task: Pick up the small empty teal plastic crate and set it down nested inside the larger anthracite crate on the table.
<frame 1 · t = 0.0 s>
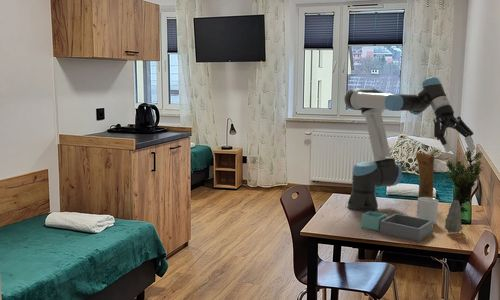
hand: (461, 150, 202), 36 cm above the table, tool tilted 35°, fingers open, 13 cm apart
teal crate: (373, 227, 211), on the table
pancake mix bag: (423, 205, 254), on the table
grey crate: (406, 233, 204), on the table
stone tool: (452, 233, 207), on the table
mug: (424, 222, 223), on the table
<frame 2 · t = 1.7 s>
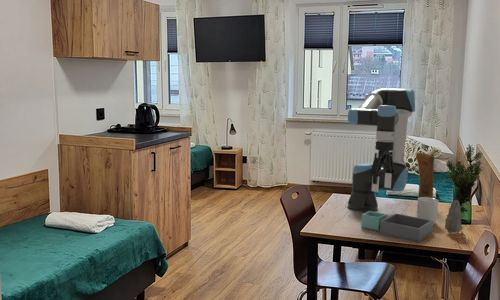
hand: (381, 189, 208), 18 cm above the table, tool pointing down, fingers open, 13 cm apart
nothing on the table moved.
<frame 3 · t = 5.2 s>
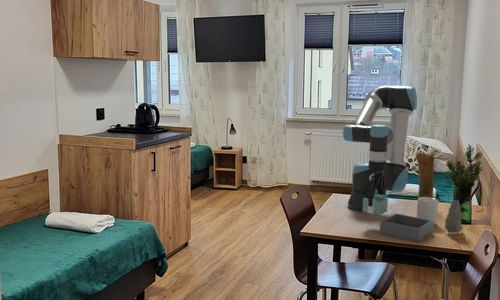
hand: (374, 210, 211), 7 cm above the table, tool pointing down, fingers closed on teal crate, 8 cm apart
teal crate: (374, 211, 211), point 7 cm above the table, touching gripper
everything else where it was.
when the fingers open (2 cm above the table, at t = 9.1 s): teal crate drops 1 cm, resting on grey crate.
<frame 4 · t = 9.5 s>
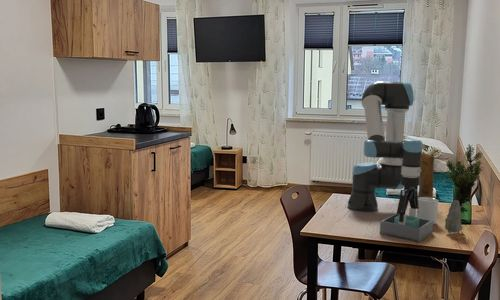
hand: (406, 226, 204), 3 cm above the table, tool pointing down, fingers open, 11 cm apart
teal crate: (406, 231, 204), point 1 cm above the table, touching grey crate
everything else where it was.
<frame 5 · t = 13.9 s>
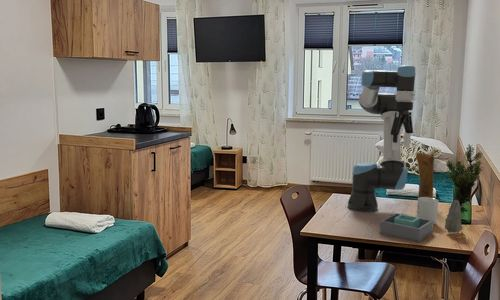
hand: (400, 148, 214), 35 cm above the table, tool pointing down, fingers open, 13 cm apart
nothing on the table moved.
at the end: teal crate inside the target area on the grey crate (0.0 cm from its centre), point 0.8 cm above the grey crate's base; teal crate tilted 0°; the gripper is holding nothing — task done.
